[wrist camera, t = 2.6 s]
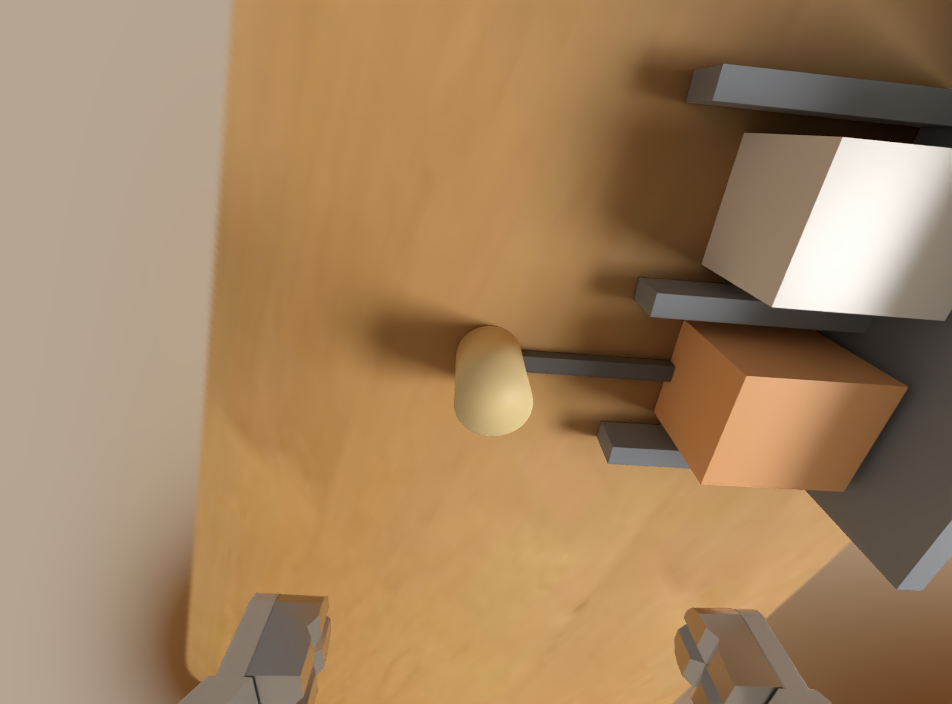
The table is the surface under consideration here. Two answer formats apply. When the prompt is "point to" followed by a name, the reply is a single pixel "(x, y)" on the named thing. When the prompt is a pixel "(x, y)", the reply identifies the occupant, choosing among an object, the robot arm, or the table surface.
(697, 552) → the table surface
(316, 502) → the table surface
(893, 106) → the lane rack
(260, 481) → the table surface
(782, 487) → the tan block and knob
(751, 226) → the white block
